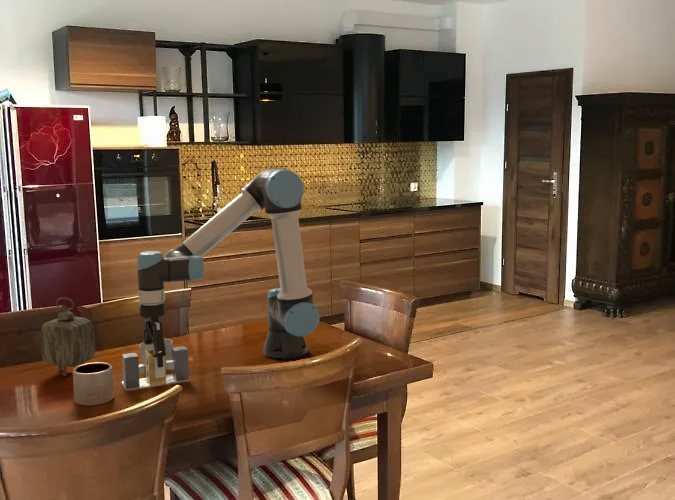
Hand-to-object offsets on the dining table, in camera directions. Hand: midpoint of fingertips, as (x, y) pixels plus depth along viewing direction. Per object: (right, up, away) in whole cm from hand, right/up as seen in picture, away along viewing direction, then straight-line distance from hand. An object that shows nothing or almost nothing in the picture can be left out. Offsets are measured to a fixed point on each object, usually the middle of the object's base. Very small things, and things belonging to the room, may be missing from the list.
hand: (155, 370), depth 217 cm
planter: (-14, -6, -14) cm, 21 cm away
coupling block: (0, -3, +1) cm, 3 cm away
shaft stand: (0, -4, +1) cm, 4 cm away
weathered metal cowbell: (-30, -3, +8) cm, 31 cm away
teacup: (-3, -1, +18) cm, 18 cm away
